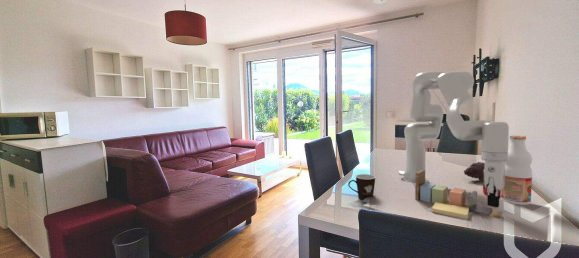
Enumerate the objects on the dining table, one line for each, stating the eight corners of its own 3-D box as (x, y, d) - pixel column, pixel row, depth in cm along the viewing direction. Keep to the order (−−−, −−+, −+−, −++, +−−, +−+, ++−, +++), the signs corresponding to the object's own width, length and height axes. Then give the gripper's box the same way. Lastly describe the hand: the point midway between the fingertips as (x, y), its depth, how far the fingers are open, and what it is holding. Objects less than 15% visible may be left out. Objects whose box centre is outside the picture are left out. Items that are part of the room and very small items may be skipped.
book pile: (426, 214, 98) (426, 206, 98) (434, 207, 105) (434, 200, 104) (466, 224, 89) (467, 216, 89) (472, 216, 95) (473, 208, 95)
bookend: (468, 211, 97) (469, 195, 96) (472, 205, 102) (473, 190, 101) (488, 215, 92) (489, 199, 92) (492, 209, 97) (492, 194, 97)
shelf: (415, 202, 110) (415, 173, 109) (422, 198, 116) (422, 169, 115) (499, 222, 90) (500, 186, 89) (502, 215, 96) (503, 181, 95)
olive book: (431, 202, 106) (431, 188, 106) (436, 198, 111) (437, 184, 110) (442, 205, 103) (442, 190, 103) (447, 200, 108) (447, 186, 107)
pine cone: (469, 183, 134) (469, 164, 133) (457, 178, 144) (457, 160, 143) (503, 182, 134) (504, 163, 133) (489, 177, 144) (489, 159, 143)
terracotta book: (465, 204, 103) (465, 189, 103) (461, 209, 99) (461, 193, 98) (453, 201, 106) (454, 187, 106) (449, 206, 102) (449, 191, 101)
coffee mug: (375, 195, 121) (375, 174, 120) (375, 202, 112) (375, 179, 112) (350, 193, 124) (350, 173, 124) (348, 199, 116) (347, 178, 115)
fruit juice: (495, 199, 112) (498, 134, 109) (522, 200, 109) (525, 134, 107) (506, 207, 103) (509, 137, 101) (536, 209, 100) (539, 137, 98)
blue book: (420, 200, 109) (420, 186, 109) (425, 196, 114) (425, 182, 113) (430, 202, 107) (430, 188, 106) (435, 198, 111) (435, 184, 111)
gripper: (504, 160, 85) (503, 215, 86) (510, 154, 95) (509, 202, 96) (477, 158, 90) (476, 209, 92) (485, 152, 101) (484, 198, 102)
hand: (493, 205), depth 94 cm, fingers closed
